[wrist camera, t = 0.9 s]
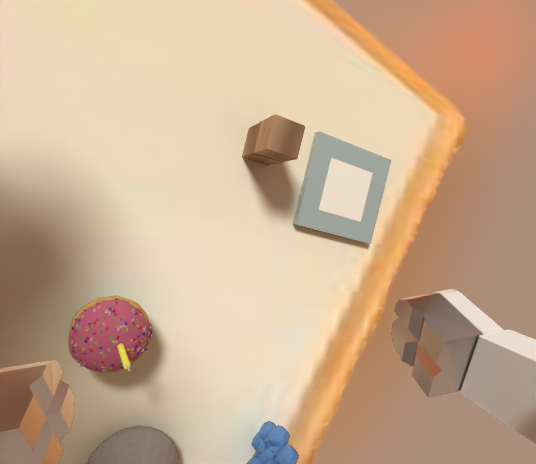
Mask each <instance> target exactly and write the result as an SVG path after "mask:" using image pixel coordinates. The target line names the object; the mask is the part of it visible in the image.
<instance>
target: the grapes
mask: <svg viewBox="0 0 536 464" xmlns="http://www.w3.org/2000/svg"><path fill="white" fill-rule="evenodd" d="M289 438H290V435H289V433H288V431H287V430H286V429H285V428H284V427H283V426H279V425H278V426H276V425H275V424H274V423H273V422H270V421H268V422H266V423H264V424H263V425H262V427H261V429H260V431H259V433H257V434H256V436H255V437H254V439H253V441H252V445H253V447H254V448H255V450H256V451H257V452H256V453H255V454H254V455H253V457H252V458H251V459H250V460H249V461H248V463H247V464H296V463H297V460H298V456H299V455H298V453H297V451H296V450H295V449H294V448H293V447H292V446H291V445H288V444H287V443H288V441H289Z"/></svg>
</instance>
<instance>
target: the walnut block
mask: <svg viewBox="0 0 536 464" xmlns="http://www.w3.org/2000/svg"><path fill="white" fill-rule="evenodd" d="M304 129H305V126H304V125H301V124H298V123H296V122H293V121H291V120H288V119H286V118H283V117H281V116H278V115H276V114H275V115H273V116H271V117H269V118H267V119H266V120H264V121H261V122H260V123H258V124H256V125H254V126H252V127H250V128H249V130H248V134H247V138H246V142H245V147H244V151H243V155H242V157H245V158H248V159H251V160H254V161H257V162H260V163H263V164H266V165H270V164H275V163H282V162H285V161H290V160H295V159H297V158H298V154H299V150H300V146H301V142H302V137H303V133H304Z"/></svg>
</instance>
